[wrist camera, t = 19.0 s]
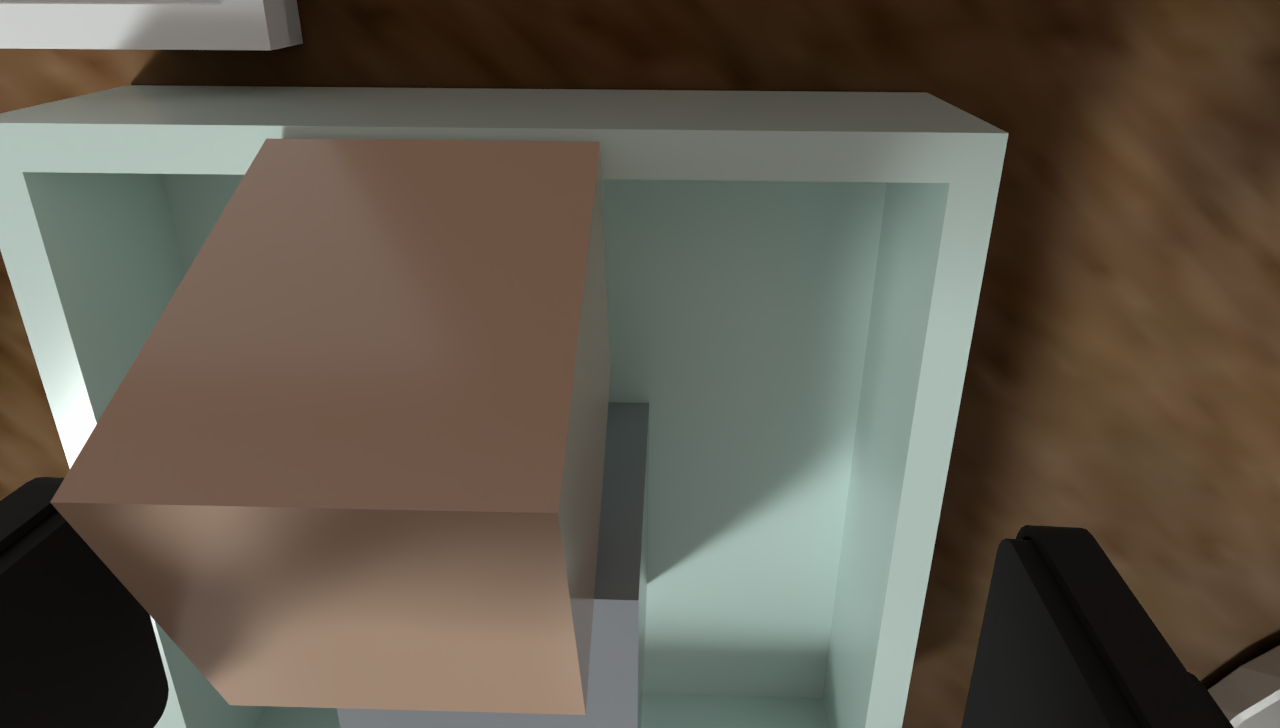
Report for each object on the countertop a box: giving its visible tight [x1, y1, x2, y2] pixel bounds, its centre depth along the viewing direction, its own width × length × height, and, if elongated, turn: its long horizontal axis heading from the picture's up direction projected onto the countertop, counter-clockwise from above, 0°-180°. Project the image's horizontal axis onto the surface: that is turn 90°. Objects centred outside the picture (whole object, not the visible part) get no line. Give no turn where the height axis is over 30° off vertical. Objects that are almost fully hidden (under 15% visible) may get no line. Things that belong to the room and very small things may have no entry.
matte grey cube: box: [337, 402, 649, 728], centre depth 14 cm, size 4×4×5 cm
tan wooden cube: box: [50, 139, 611, 715], centre depth 10 cm, size 4×4×5 cm
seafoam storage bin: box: [0, 85, 1009, 728], centre depth 15 cm, size 13×13×4 cm
